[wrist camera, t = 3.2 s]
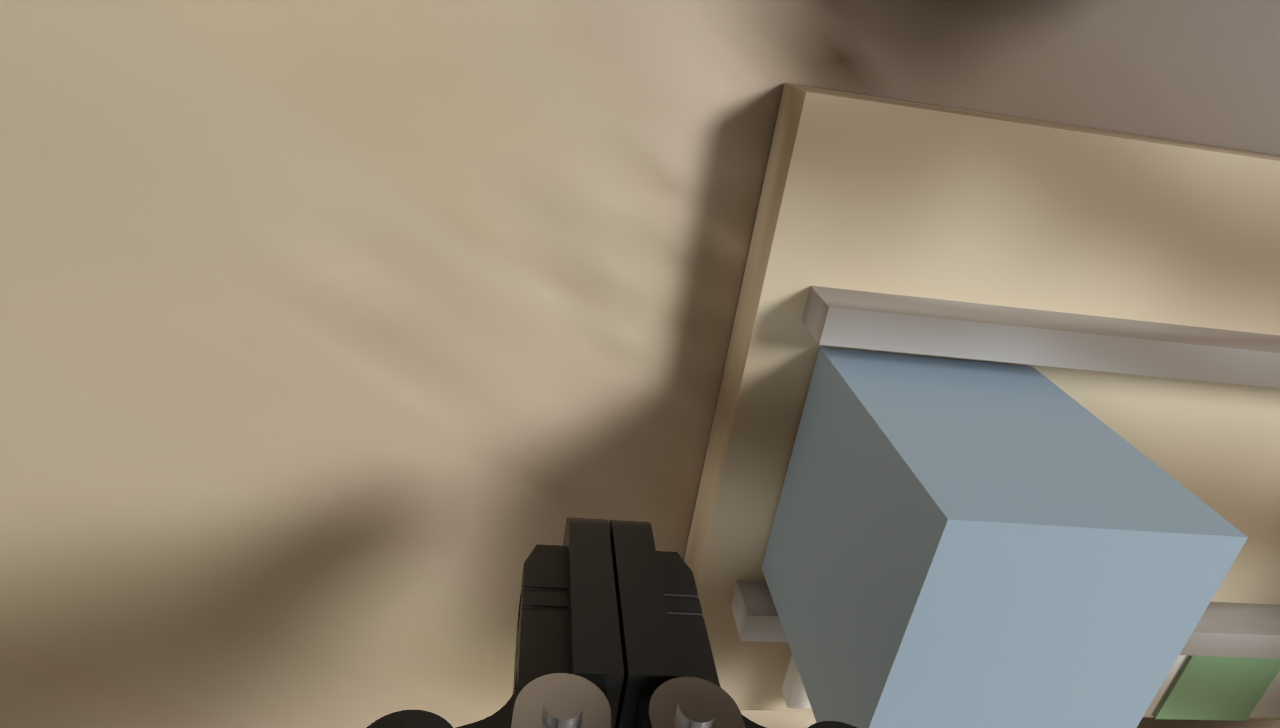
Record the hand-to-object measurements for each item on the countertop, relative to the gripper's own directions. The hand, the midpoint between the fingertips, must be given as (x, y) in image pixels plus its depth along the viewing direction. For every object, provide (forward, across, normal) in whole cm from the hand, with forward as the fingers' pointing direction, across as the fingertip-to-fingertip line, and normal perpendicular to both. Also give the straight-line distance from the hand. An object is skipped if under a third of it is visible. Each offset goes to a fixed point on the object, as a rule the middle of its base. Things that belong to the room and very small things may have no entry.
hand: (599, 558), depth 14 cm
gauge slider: (+3, -8, +2) cm, 9 cm away
